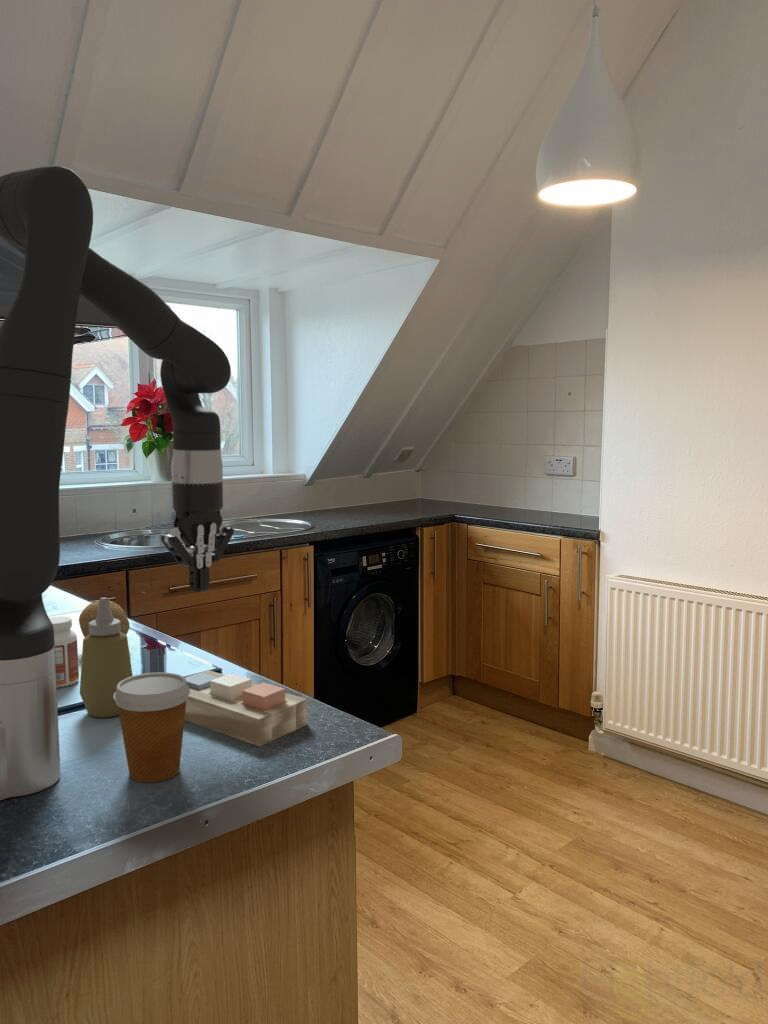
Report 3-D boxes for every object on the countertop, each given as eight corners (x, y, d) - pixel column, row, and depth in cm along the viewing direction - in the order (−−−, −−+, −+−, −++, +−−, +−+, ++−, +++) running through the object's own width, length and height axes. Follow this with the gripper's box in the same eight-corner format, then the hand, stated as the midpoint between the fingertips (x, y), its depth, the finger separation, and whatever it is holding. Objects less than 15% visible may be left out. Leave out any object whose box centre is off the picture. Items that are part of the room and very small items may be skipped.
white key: (230, 708, 123) (230, 686, 122) (210, 702, 125) (210, 680, 125) (252, 700, 126) (251, 679, 126) (232, 694, 129) (231, 673, 129)
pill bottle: (68, 674, 146) (66, 613, 144) (85, 682, 142) (83, 619, 140) (33, 683, 141) (30, 619, 140) (50, 691, 137) (47, 626, 136)
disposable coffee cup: (149, 796, 101) (146, 701, 99) (100, 775, 106) (97, 685, 105) (207, 768, 109) (205, 680, 107) (159, 750, 114) (156, 666, 113)
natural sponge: (120, 641, 166) (118, 592, 165) (137, 651, 159) (135, 601, 158) (74, 649, 161) (72, 598, 160) (89, 660, 154) (87, 608, 153)
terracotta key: (264, 719, 119) (263, 696, 118) (242, 712, 121) (242, 690, 121) (285, 710, 122) (285, 688, 122) (264, 704, 125) (263, 682, 124)
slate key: (199, 706, 127) (198, 685, 127) (180, 700, 130) (180, 679, 129) (220, 698, 131) (220, 677, 130) (202, 692, 133) (201, 672, 133)
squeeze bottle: (77, 707, 130) (72, 595, 128) (129, 699, 134) (126, 590, 131) (84, 725, 123) (79, 607, 121) (139, 716, 127) (136, 601, 124)
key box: (259, 746, 116) (258, 719, 115) (158, 711, 129) (158, 686, 128) (307, 724, 124) (307, 699, 123) (208, 693, 137) (207, 670, 136)
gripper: (179, 483, 118) (181, 602, 120) (246, 478, 129) (247, 587, 131) (145, 480, 122) (148, 595, 125) (213, 475, 133) (215, 581, 135)
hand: (199, 590), depth 128 cm, fingers closed
